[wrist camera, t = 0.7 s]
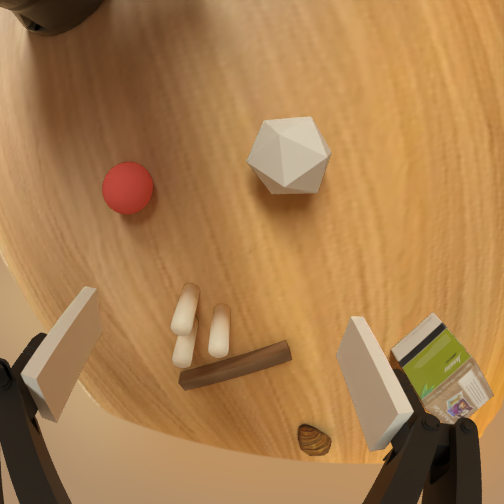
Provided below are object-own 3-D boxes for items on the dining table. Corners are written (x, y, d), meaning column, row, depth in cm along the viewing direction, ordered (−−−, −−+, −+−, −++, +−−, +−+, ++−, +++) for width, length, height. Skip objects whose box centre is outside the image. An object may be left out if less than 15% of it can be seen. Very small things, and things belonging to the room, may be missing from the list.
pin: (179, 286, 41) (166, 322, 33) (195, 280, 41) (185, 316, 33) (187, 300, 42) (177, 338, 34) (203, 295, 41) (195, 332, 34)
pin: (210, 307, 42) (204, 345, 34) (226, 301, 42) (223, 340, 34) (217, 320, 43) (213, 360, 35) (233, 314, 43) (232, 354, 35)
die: (273, 202, 38) (337, 213, 30) (219, 171, 32) (284, 174, 25) (295, 144, 38) (358, 145, 31) (248, 107, 32) (314, 96, 25)
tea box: (458, 347, 49) (495, 396, 35) (421, 380, 51) (451, 433, 37) (432, 309, 44) (479, 364, 31) (388, 348, 47) (423, 411, 33)
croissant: (338, 442, 58) (342, 459, 53) (310, 452, 59) (314, 469, 54) (318, 416, 53) (322, 436, 48) (286, 428, 54) (289, 447, 49)
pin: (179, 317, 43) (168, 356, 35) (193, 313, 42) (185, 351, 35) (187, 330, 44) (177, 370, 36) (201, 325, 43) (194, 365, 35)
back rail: (180, 372, 47) (178, 382, 45) (285, 340, 45) (287, 350, 42) (186, 380, 48) (184, 390, 45) (289, 349, 46) (292, 359, 43)
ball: (106, 172, 35) (85, 181, 29) (146, 150, 34) (129, 155, 28) (126, 214, 37) (108, 229, 31) (166, 194, 36) (153, 206, 31)
